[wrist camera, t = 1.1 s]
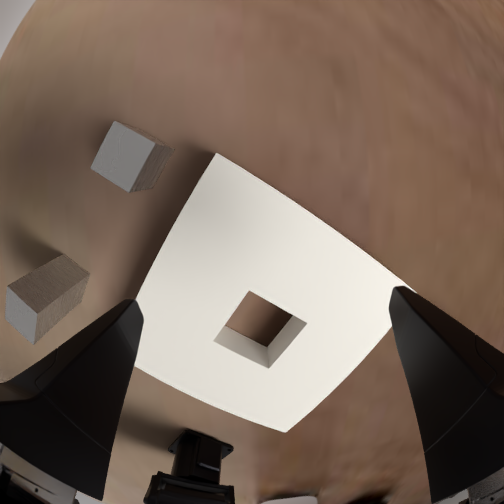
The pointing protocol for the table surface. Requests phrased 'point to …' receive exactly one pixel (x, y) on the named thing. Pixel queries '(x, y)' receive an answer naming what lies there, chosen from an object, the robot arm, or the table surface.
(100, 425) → the robot arm
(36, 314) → the long pin
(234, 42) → the table surface
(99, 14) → the table surface
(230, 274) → the hole block
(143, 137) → the short pin
